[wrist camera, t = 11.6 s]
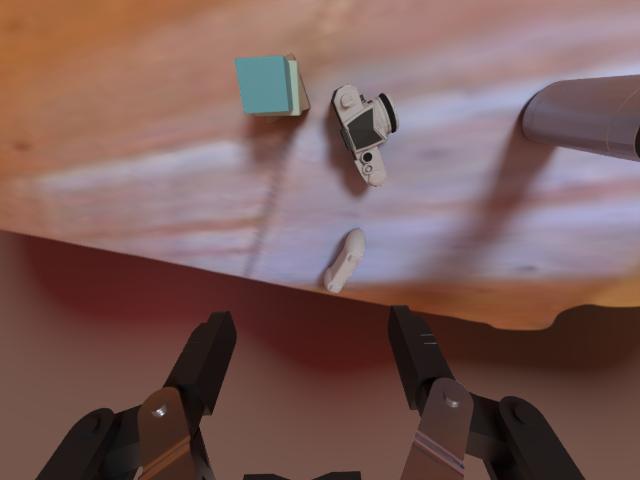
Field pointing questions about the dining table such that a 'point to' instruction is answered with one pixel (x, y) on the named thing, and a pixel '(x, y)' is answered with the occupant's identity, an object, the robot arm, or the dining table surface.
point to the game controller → (345, 261)
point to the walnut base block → (304, 98)
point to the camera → (365, 129)
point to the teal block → (264, 84)
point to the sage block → (295, 93)
